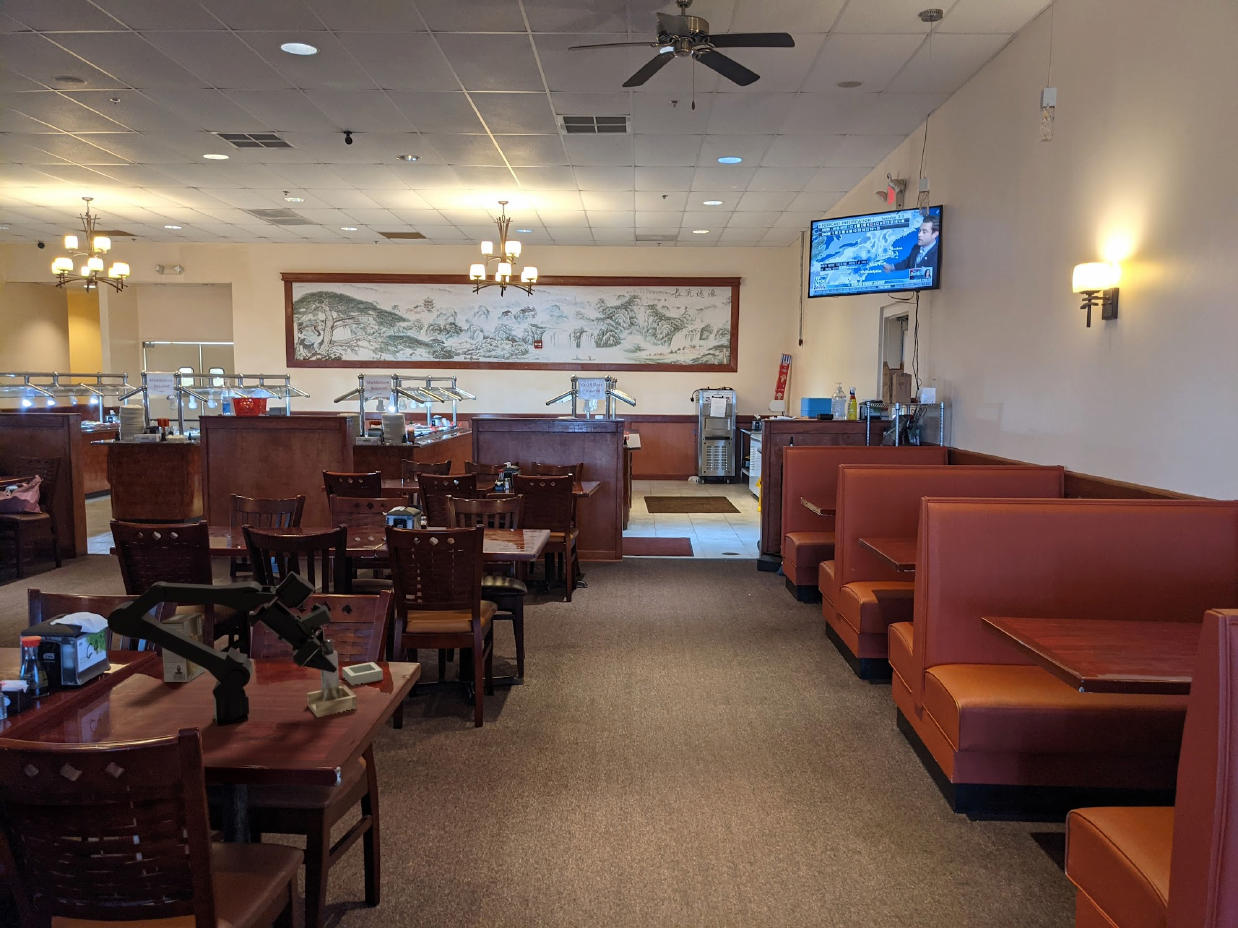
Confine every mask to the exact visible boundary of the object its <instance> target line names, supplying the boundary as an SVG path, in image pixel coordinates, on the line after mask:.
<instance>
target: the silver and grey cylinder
mask: <svg viewBox="0 0 1238 928" xmlns="http://www.w3.org/2000/svg"><path fill="white" fill-rule="evenodd" d="M322 647H323V653H324V654H325V655H326V657H327V658H328V659H329V660H330V661H331V662H332V663H333V664H334V666H335V667H336V668H337V670H336V671H335V672H334V673H333V672H328V671H324V670H320V669H319V670H320V686H321V690H322V702H325V701H329V700H334V699H339V698H340V688H339V687H340V677H339V676H340V674H339V660H338V659H339V658H338V657H339V656H338V650H337V651H336V650H334V639H331V638H329V639H327V638H326V639H325V640H323V641H322Z"/></svg>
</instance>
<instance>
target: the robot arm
mask: <svg viewBox="0 0 1238 928" xmlns="http://www.w3.org/2000/svg"><path fill="white" fill-rule="evenodd" d="M315 591H316V588H315V586H314V584H312V583H311V582H310V581H309V580H308V579H306V578H305V577H302V576H301V575H299V574H298V573H296V572H294V571H290V572H289V573H288V574H287V576H286V578H285V579H284V580H283V581H282V582H281V583H280V584H279V585H278V586H276V585H275V586H273V585H261V584H260V582H258V581H253V580H252V581H251V580H250V581H249V580H248V581H239V582H234V583H229V584H221V585H219V584H218V585H217V584H200V583H198V584H197V583H179V582H178V583H177V582H166V581H157V582H154V583H153V584H152V585H151V586H150V587H148V589H147V590H145V591H144V592H142V593H141V594H140V595H138V596H137V597H136V598H134V599H133V600H132V601H131V600H130V601H124V602H121V604H119V605H118V606H117V607H116V608H114V610H113V609H112V612H111V613H109V615H108V616H107V618H106V619H107V621H106V624H107V627H108V630H109V631H111V633H113V634H115V635H119V636H122V637H125V638H129V639H135V640H144V641H147V642H150V643H152V644H153V645H156V646H158V647H160V648H161V649H162V648H164V649H166V650H168V651H170V652H172V653H174V654H176V655H178V656H180V657H182V658H184V659H187V660H189V661H191V662H193V663H195V664H197V665H199V666H201V667H203V668H205V670H207V671H208V672H209V673H210V674H211V675H212V677H213V678H214V679H215V680H216V682H215V685H214V688H213V690H212V692H211V693H212V695H213V706H214V707H213V708H214V709H213V710H214V714H213V715H212V716H213V720H214V722H215V724H216V726H223V725H228V724H233V723H238V722H243V721H247V720H249V716H248V715H250V701H249V699H250V698H249V695H248V694H247V693H246V690H245V688H244V687H246V686H247V685H248V683H249V682H250V680H251V677H252V674H253V671H254V666H253V661H251V659H249V658H248V654H247V653H241V652H239V651H238V650H237V649H235V648H233V647H230V648H229V650H228V652H226V651H220V650H217V649H214V648H212V647H210V646H208V645H206V644H202V643H200V642H198V641H196V640H194V639H192V638H190V637H188V636H186V635H184V634H182V633H180V632H178V631H176V630H174V629H172V628H170V627H168V626H166V625H164V624H162V623H160V622H161V621H159V620H158V619H157V618H156V617H155V616H154V615H153V614H152V613H151V612H150V611H151V610H152V609H153V608H154V607H156V606H158V604H160V603H176V604H199V605H200V604H201V605H203V604H204V605H218V606H223V607H225V608H228V609H232V610H236V611H241V612H246V613H249V614H248V617H249V626H250V628H252V627H254V626H255V625H256V624H258V622H260V623H261V624H262V625H264V626H265V627H266V628H268V629H269V630H270V631H271V632H273V633H274V634H275V635H276V636H277V637H276V638H277V640H279V641H280V642H281V641H282V640H283V641H284V642H285V643H286V644H288V645H289V646H291V651H293V655H292V660H293V663H294V664H295V665H297V666H298V667H299V668H301V667H302V668H305V667H306V668H311V669H315V670H324V671H328V672H333V673H334V672H335V671H336V670H337V668H336V667H335V666H334V664H333V663H332V662H331V661H330V660H329V659H328V658H327V657H326V655H325V654H324V653H323V647H322V641H323V640H326V639H325V634H324V633H325V630H324V628H323V625H326V624H328V623H330V622H332V615H331V613H330V611H329V609H328V607H327V606H326V605H324V604H323V605H321V604H319V603H314V604H312V605H311V607H310V612H308V613H307V614H306V615H304V616H302V615H301V614H299V613H298V614H297V613H295V614H294V613H293V612H291V611H290V610H291V609H294V608H295V609H298V608H300V607H301V606H302V605H303V603H305V601H306V600H307V599H308V598H309V597H310V596H311V595H312V594H313V593H314V592H315ZM257 609H258V610H257ZM256 610H257V611H256ZM253 611H255V612H253Z"/></svg>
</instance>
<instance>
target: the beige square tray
mask: <svg viewBox="0 0 1238 928" xmlns="http://www.w3.org/2000/svg"><path fill="white" fill-rule="evenodd" d="M339 688H340V698H339V699H334V700H329V701H325V702H322V689H321V690H315V691H311V692H307V693H306V698H307V701H306V702H307V706H308V708H309V709H310V710H311V712H312V713H313V714H314V715H315V716H316V718H321V717H326V716H329V715H330V714H331V715H335V713H336V714H339V713H338V712H340V713H343V711H345V712H347V711H346V710H350V711H352V710H351V709H354V710H357V709H358V705H357V704H358V702H357V699H358V698H357V695H356V694H355V693H354V692H353V691H352V690H351V688H349V687H347V685H342V686H341V685H339ZM325 715H326V716H325Z"/></svg>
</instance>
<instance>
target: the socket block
mask: <svg viewBox="0 0 1238 928" xmlns="http://www.w3.org/2000/svg"><path fill="white" fill-rule="evenodd" d="M341 670H342V672H341V673H342V678H343V679H344V678H345V679H344V680H345V681H346V680H347V681H348V682H349V683H350V684H351V685H353V686H355V685H354V684H358V685H362V684H361V683H363V684H367V683H372V682H377V681H378V682H379V681H382V680H384V675H383V674H384V672H383V669H382V668H381V667H380V666H378V665H377V664H376V663H375V662H373V661H371V662H366V663H365V662H364V663H359V664H355V665H350V666H345V667H343V666H342V669H341ZM347 681H346V682H347ZM348 682H347V683H348ZM349 683H348V684H349ZM350 684H349V685H350ZM351 685H350V686H351Z"/></svg>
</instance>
